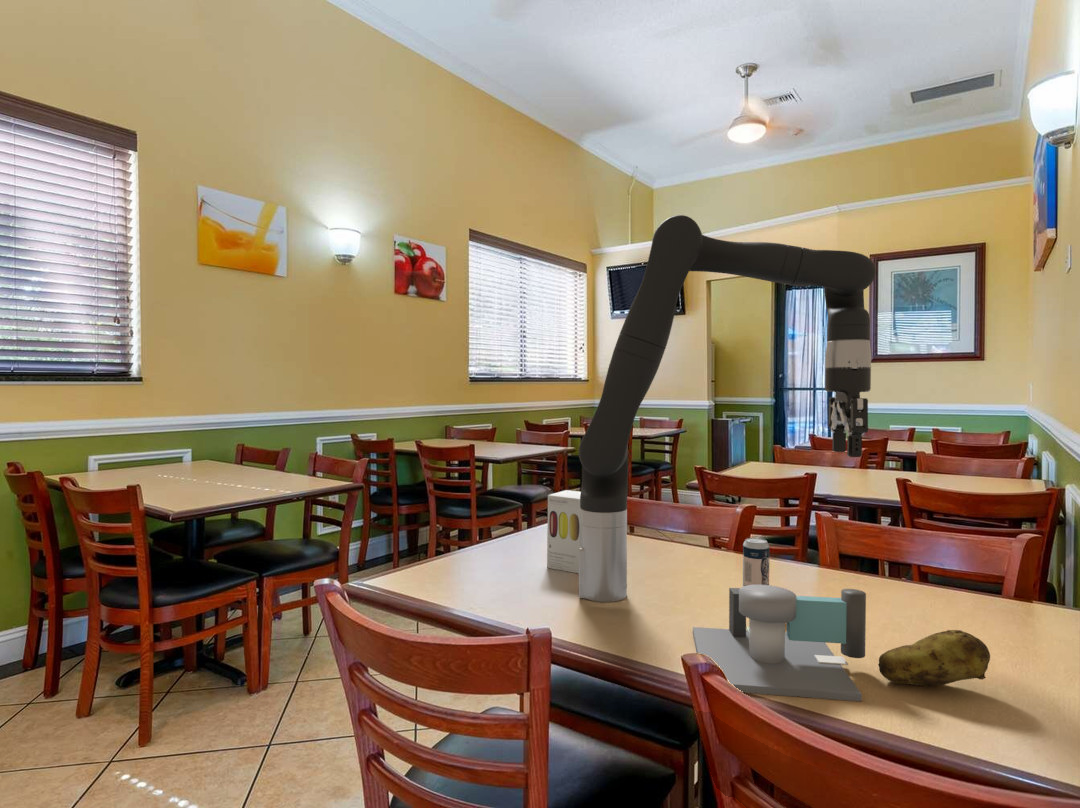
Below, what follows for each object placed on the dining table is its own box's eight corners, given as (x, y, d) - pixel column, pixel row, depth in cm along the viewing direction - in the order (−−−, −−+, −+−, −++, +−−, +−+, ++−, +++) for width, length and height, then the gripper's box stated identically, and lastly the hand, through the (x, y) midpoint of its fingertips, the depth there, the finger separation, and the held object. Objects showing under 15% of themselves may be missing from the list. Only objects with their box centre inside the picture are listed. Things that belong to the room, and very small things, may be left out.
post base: (703, 689, 85) (704, 631, 85) (692, 630, 106) (692, 583, 105) (869, 702, 82) (870, 641, 81) (824, 638, 102) (824, 590, 102)
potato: (881, 664, 93) (881, 611, 93) (987, 686, 86) (988, 628, 86) (876, 687, 86) (877, 629, 85) (992, 713, 79) (993, 650, 79)
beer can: (770, 608, 116) (771, 544, 116) (744, 606, 117) (744, 542, 117) (766, 599, 121) (767, 538, 121) (741, 598, 122) (741, 537, 122)
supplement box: (545, 568, 143) (545, 494, 142) (565, 558, 151) (565, 489, 150) (582, 574, 138) (582, 498, 137) (601, 564, 146) (601, 492, 145)
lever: (743, 657, 90) (743, 595, 90) (735, 635, 98) (735, 578, 98) (874, 666, 87) (875, 602, 87) (855, 643, 95) (856, 584, 95)
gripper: (815, 367, 122) (814, 450, 122) (838, 364, 108) (837, 458, 108) (856, 367, 121) (854, 451, 121) (884, 364, 107) (883, 459, 107)
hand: (846, 454), depth 115 cm, fingers open, 8 cm apart
